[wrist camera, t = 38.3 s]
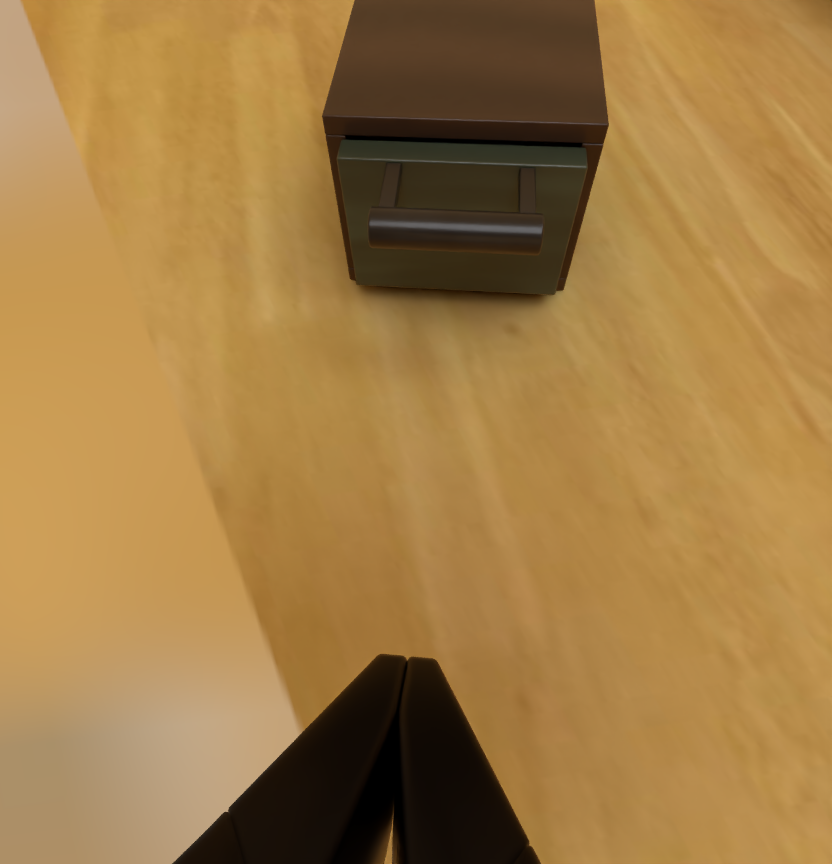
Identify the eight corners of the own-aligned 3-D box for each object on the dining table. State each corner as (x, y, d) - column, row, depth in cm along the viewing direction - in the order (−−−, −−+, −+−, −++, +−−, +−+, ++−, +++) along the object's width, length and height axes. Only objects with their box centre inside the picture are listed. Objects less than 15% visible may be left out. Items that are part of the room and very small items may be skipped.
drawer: (557, 363, 26) (597, 235, 19) (344, 351, 26) (316, 222, 20) (549, 131, 34) (575, -12, 27) (386, 125, 34) (376, -15, 28)
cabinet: (563, 291, 29) (609, 124, 21) (349, 280, 29) (321, 115, 22) (556, 122, 35) (589, -50, 28) (382, 116, 36) (368, -53, 29)
